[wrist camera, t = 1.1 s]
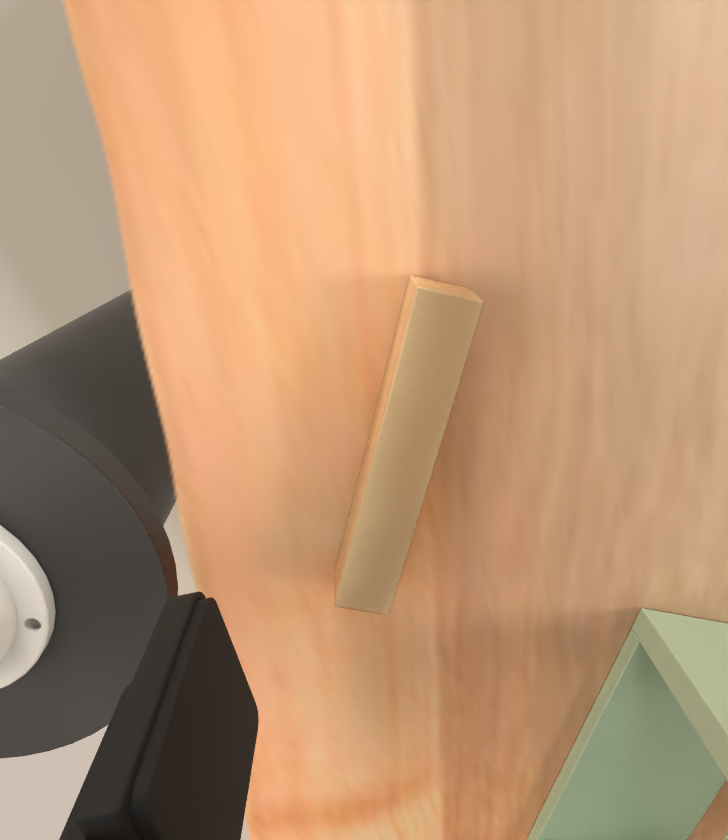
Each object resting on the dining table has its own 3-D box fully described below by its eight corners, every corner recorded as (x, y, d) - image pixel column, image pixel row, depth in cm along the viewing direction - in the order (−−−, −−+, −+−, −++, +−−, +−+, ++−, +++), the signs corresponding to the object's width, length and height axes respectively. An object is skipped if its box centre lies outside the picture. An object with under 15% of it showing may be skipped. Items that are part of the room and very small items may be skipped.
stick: (334, 569, 32) (333, 607, 29) (409, 274, 26) (417, 286, 24) (385, 578, 32) (389, 616, 30) (470, 288, 27) (485, 301, 24)
